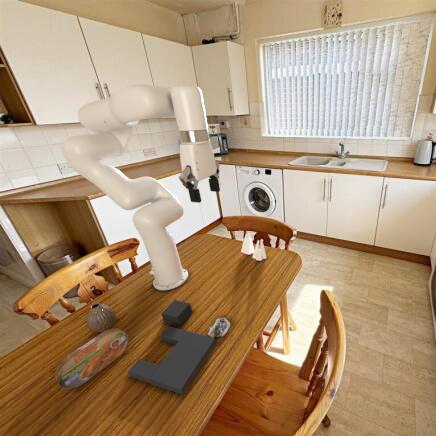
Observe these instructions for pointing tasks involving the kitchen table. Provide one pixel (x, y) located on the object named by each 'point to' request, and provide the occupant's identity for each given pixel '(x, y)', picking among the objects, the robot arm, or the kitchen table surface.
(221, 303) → the kitchen table surface
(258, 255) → the shaker set
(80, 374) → the tin
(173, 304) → the dark grey squat block
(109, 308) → the vase
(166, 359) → the charcoal pad
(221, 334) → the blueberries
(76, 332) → the kitchen table surface
